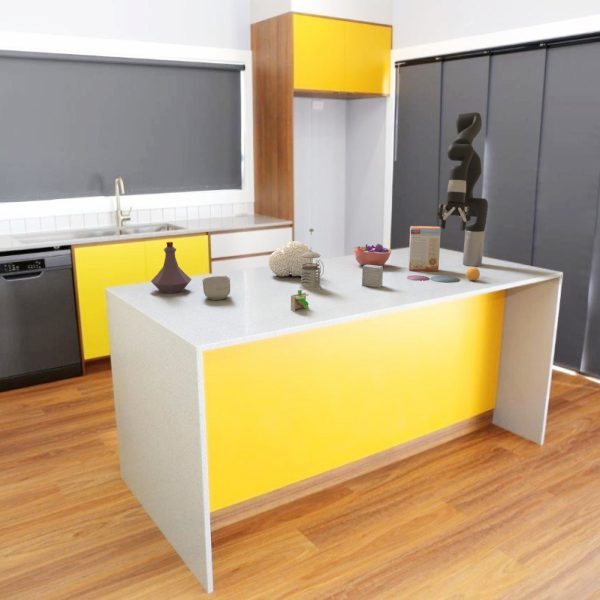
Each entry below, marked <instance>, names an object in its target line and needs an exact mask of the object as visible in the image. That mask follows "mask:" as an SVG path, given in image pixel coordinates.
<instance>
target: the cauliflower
mask: <svg viewBox="0 0 600 600" xmlns="http://www.w3.org/2000/svg"><path fill="white" fill-rule="evenodd" d="M310 251H311V248H309V246H308V245H306V244H305V243H304V242H300V241H297V240H296V241H295V240H293V241H290V242H288V243H285V245H283V246H282V249H281V248H277V249H275V250H274V251H273V252H272V253H271V254H270V256H269V258H268V266H269V269H270V271H271V272H272V273H273V274H274V275H276V276H278V277H282V278H283V277H288V276H290V274H291V276H292V277H301V275H302V274H301V268H302V267H304V266H303V264H305V263H314V258H304V257H302V256H301V255H302V254H304V253H305V252H310Z"/></svg>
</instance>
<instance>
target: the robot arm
mask: <svg viewBox="0 0 600 600" xmlns="http://www.w3.org/2000/svg"><path fill="white" fill-rule="evenodd" d="M482 120H483V119H482V115H481V114H480V113H479V112H476V111H475V112H474V111H473V112H466V113H460V114H459V113H458V114H457V116H456V120H455V126H456V133H457V136H456V138H455V140H454V141H453V142H452V143H451V144H449V146H448V147H447V153H446V155H447V158H448V159H449V160H450V161H454V162H460V165H455V166H451V168H450V169H449V178H448V179H449V181H448V185H447V192H446V193H447V195H446V204H443V203H440V204H438V208H437V214H436V218H437V219H440V228H441V230H445V229H446V224H447V220H446V219H447V218H448V217H449V216H455V217H458V218H459V219H460V220H461V221H460V229H459V230H460V231H464V245H463V256H462V264H463V265H464V266H468V267H469V266H470V267H480V266H482V264H483V262H482V261H483V252H484V241H485V239H484V238H485V228H486V224H487V217H488V209H489V202H488V200H487V198H484V197H483V198H482V197H474V187H475V185H476V184H477V182H478V180H479V179H480V177H481V175H482V162H481V157H480V155H479V154H478V152H476V150H475V149H474V147H473V141H474V139H475V138H476V137H477V136H478V135H479V133H480V131H481V129H482V126H483V124H482V123H483V122H482ZM444 210H446V211H445V212H444V214H443V211H444ZM471 217H476V219H475V221H473V222H469V221H471ZM467 222H469V223H467Z"/></svg>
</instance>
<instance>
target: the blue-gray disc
mask: <svg viewBox="0 0 600 600" xmlns="http://www.w3.org/2000/svg"><path fill="white" fill-rule="evenodd" d="M429 280H431V281H433V282H438V283H446V284H447V283H459V282H460V280H461V279H460V278H459V277H455V276H451V275H434V276H433V275H432V276H431V277H429Z"/></svg>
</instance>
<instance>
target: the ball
mask: <svg viewBox="0 0 600 600" xmlns="http://www.w3.org/2000/svg"><path fill="white" fill-rule="evenodd" d="M480 275H481V273H480V270H479V269H478V268H477V267H476V266H470V267H469V268H468V269H467V270H466V272H465V276H466V278H467V279H468V280H469V281H473V282H474V281H476V280H478V279H479V278H480Z"/></svg>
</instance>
